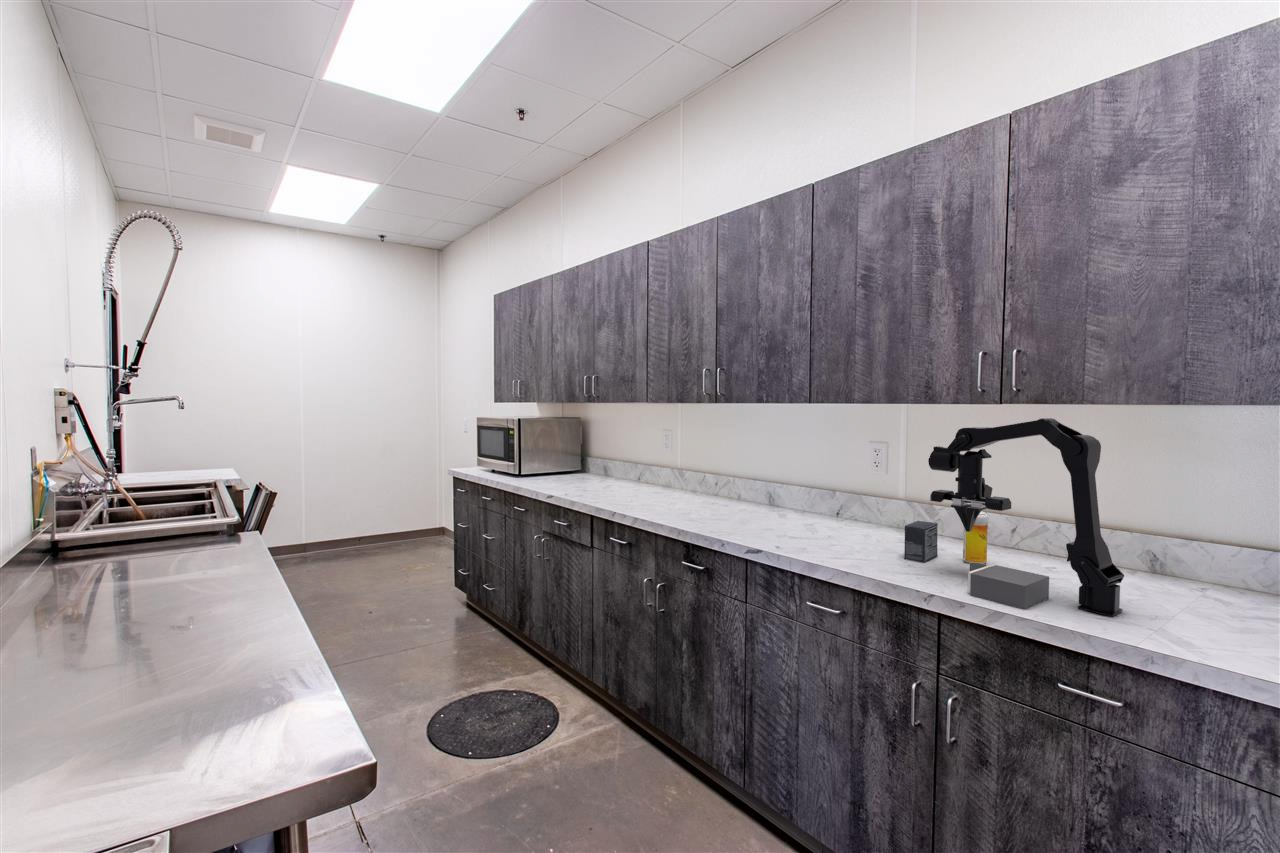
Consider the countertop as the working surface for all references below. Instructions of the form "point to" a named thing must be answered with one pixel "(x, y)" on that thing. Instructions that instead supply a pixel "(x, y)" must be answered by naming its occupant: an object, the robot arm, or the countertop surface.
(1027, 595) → the block
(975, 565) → the puck
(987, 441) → the robot arm
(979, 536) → the beer can
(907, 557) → the small box
